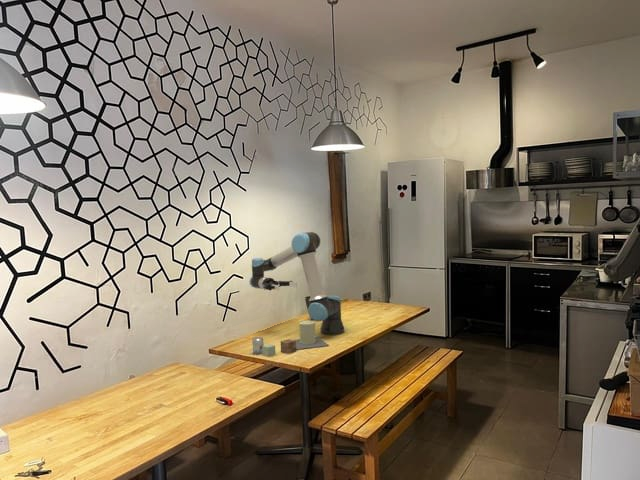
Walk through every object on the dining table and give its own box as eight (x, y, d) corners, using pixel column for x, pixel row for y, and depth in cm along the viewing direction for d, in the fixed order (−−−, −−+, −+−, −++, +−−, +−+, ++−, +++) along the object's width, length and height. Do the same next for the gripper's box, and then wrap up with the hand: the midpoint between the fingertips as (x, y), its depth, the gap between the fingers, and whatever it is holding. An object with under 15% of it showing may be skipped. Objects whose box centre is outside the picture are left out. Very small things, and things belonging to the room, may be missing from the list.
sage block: (270, 352, 258) (269, 343, 257) (275, 354, 254) (275, 345, 254) (262, 355, 254) (262, 345, 254) (267, 356, 250) (267, 347, 250)
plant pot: (326, 321, 329) (325, 298, 328) (305, 322, 329) (304, 299, 328) (326, 316, 344) (325, 295, 343) (306, 317, 344) (305, 295, 343)
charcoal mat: (318, 337, 285) (318, 336, 285) (328, 346, 266) (328, 345, 266) (286, 341, 279) (286, 340, 279) (294, 350, 260) (294, 349, 260)
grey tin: (262, 350, 262) (262, 336, 261) (264, 353, 256) (264, 339, 256) (252, 352, 260) (251, 337, 260) (253, 355, 254) (253, 340, 254)
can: (314, 344, 268) (313, 323, 268) (298, 344, 270) (297, 323, 270) (317, 340, 277) (316, 319, 277) (302, 339, 279) (301, 319, 279)
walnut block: (289, 349, 262) (289, 339, 262) (296, 351, 258) (296, 340, 258) (281, 352, 258) (280, 341, 258) (287, 354, 254) (287, 343, 254)
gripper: (283, 286, 308) (303, 289, 292) (250, 292, 291) (271, 295, 275) (282, 275, 307) (303, 277, 291) (250, 280, 291) (270, 282, 275)
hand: (287, 286), depth 283 cm, fingers open, 13 cm apart
